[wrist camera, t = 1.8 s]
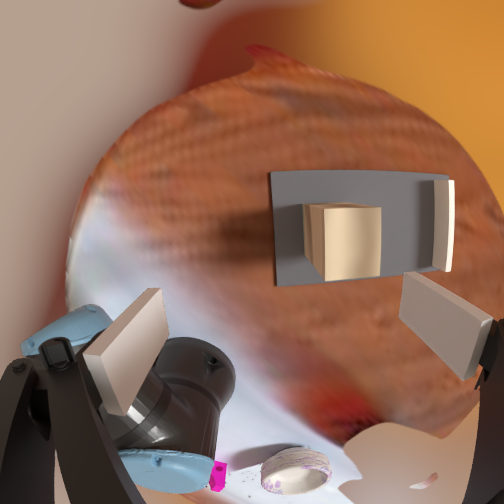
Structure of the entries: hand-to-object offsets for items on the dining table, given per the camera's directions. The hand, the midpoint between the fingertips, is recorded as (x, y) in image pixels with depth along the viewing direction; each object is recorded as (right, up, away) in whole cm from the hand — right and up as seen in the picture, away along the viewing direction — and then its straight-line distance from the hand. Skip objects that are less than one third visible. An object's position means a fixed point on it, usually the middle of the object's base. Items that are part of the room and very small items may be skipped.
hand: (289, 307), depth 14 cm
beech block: (+8, +6, +23) cm, 25 cm away
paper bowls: (+8, -44, +35) cm, 57 cm away
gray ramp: (+16, +7, +24) cm, 29 cm away
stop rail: (+28, +7, +23) cm, 37 cm away
